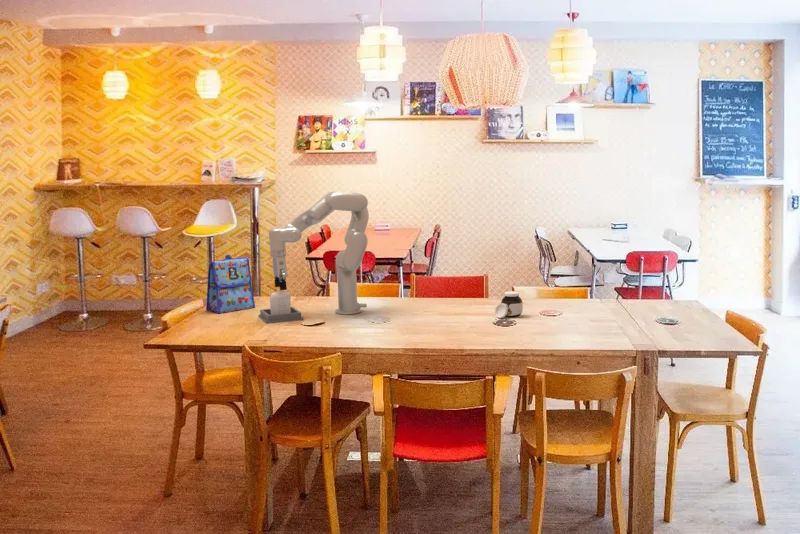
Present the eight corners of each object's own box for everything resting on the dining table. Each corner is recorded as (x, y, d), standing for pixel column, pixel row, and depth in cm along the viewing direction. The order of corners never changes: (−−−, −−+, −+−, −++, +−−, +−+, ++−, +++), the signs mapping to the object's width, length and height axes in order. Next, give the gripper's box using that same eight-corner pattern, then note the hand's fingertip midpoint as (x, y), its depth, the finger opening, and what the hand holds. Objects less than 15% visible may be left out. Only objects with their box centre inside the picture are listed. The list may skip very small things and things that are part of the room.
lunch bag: (218, 314, 433) (215, 257, 428) (205, 310, 443) (202, 255, 438) (255, 308, 447) (253, 253, 442) (242, 304, 457) (239, 250, 452)
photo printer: (288, 314, 424) (287, 289, 422) (292, 315, 420) (291, 290, 419) (269, 316, 419) (268, 291, 417) (272, 318, 415) (271, 293, 413)
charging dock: (293, 313, 432) (293, 306, 431) (303, 319, 415) (303, 312, 414) (258, 316, 425) (258, 309, 424) (266, 323, 408) (266, 316, 408)
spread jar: (524, 315, 415) (524, 291, 413) (517, 320, 404) (517, 295, 403) (500, 313, 420) (500, 290, 418) (493, 318, 409) (492, 294, 408)
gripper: (290, 255, 409) (292, 290, 411) (281, 250, 424) (284, 284, 427) (274, 256, 406) (277, 292, 409) (266, 252, 422) (269, 286, 425)
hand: (280, 288), depth 418 cm, fingers open, 9 cm apart
